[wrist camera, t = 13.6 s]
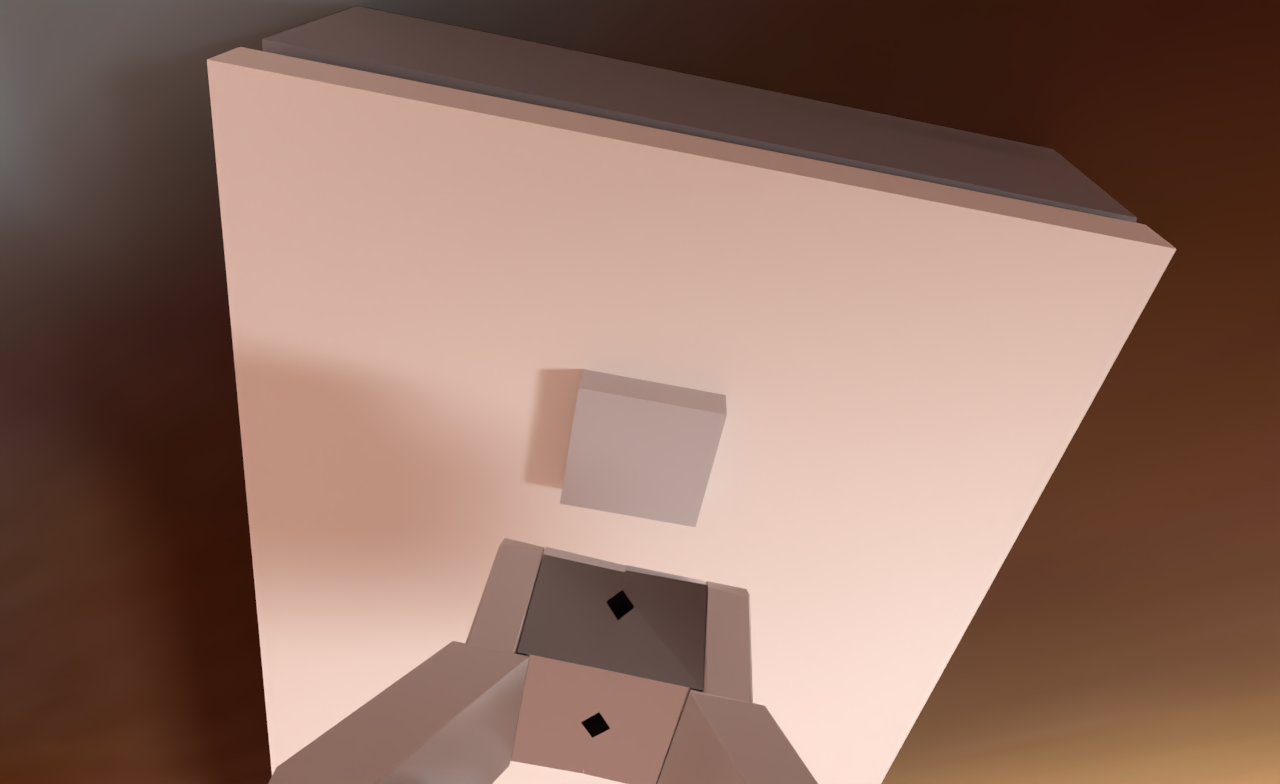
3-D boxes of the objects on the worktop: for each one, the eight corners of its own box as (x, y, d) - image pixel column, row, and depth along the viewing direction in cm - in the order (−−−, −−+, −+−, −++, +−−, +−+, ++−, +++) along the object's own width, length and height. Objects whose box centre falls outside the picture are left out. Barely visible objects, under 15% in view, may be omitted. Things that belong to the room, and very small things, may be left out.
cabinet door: (240, 46, 12) (183, 67, 11) (1145, 224, 13) (1197, 265, 12) (302, 925, 26) (280, 983, 25) (743, 992, 27) (746, 1052, 25)
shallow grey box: (357, 6, 16) (261, 38, 13) (1053, 148, 17) (1137, 217, 13) (358, 786, 30) (311, 902, 27) (741, 858, 30) (743, 981, 27)
